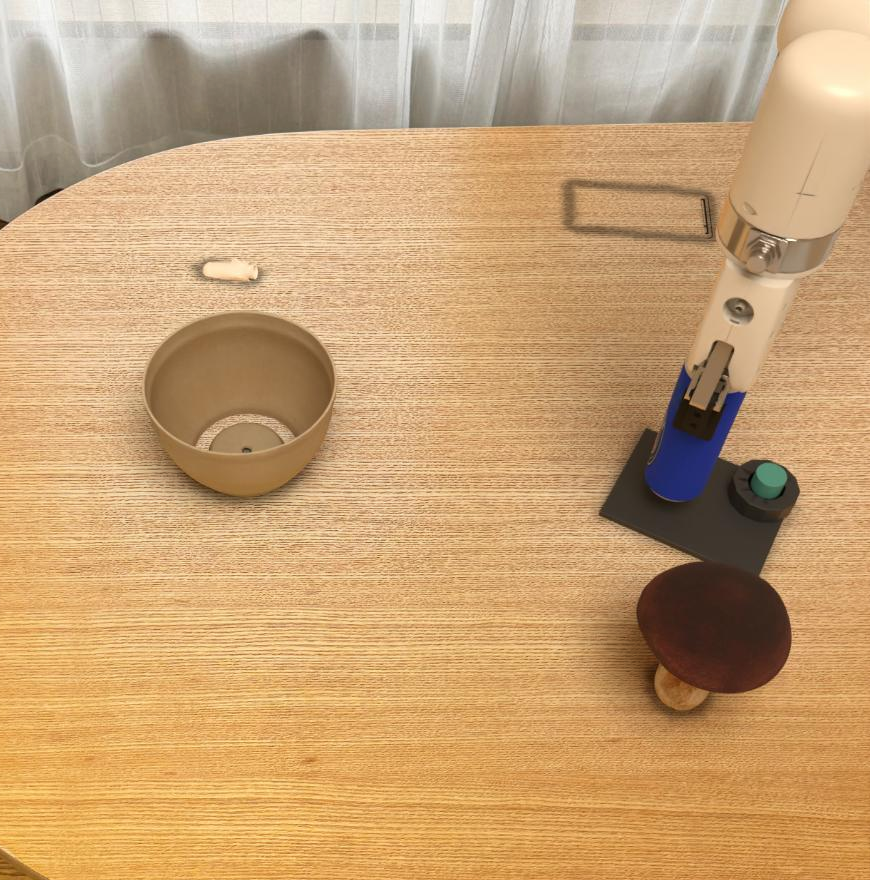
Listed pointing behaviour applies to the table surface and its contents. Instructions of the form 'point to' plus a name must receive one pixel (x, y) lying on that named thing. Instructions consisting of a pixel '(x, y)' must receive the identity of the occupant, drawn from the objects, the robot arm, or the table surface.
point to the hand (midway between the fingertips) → (705, 405)
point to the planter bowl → (240, 398)
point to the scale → (703, 511)
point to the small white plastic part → (231, 270)
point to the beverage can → (687, 447)
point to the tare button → (768, 480)
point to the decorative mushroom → (712, 631)
